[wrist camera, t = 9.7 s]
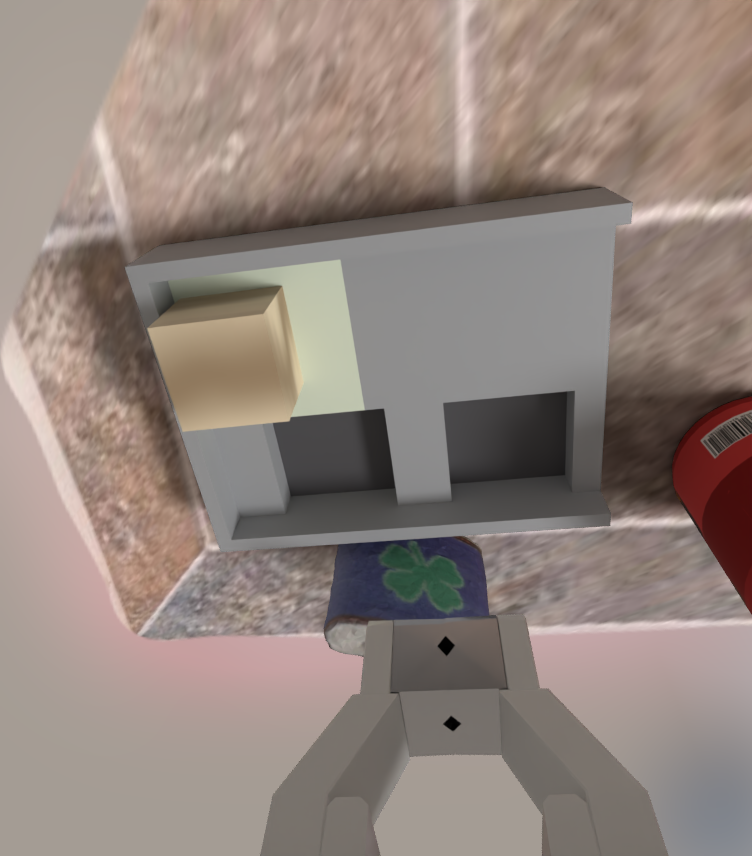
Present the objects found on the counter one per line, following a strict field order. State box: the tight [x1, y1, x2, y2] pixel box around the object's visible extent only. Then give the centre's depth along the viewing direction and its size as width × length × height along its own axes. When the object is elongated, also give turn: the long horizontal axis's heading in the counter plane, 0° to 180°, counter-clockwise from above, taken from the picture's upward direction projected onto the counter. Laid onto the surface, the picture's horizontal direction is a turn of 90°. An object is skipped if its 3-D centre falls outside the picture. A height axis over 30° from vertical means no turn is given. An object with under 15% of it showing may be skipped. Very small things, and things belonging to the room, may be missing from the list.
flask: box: [324, 536, 489, 657], centre depth 33 cm, size 9×3×11 cm, turn 71°
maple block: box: [147, 286, 304, 432], centre depth 28 cm, size 5×5×4 cm
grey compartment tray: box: [125, 187, 633, 552], centre depth 30 cm, size 16×21×4 cm
